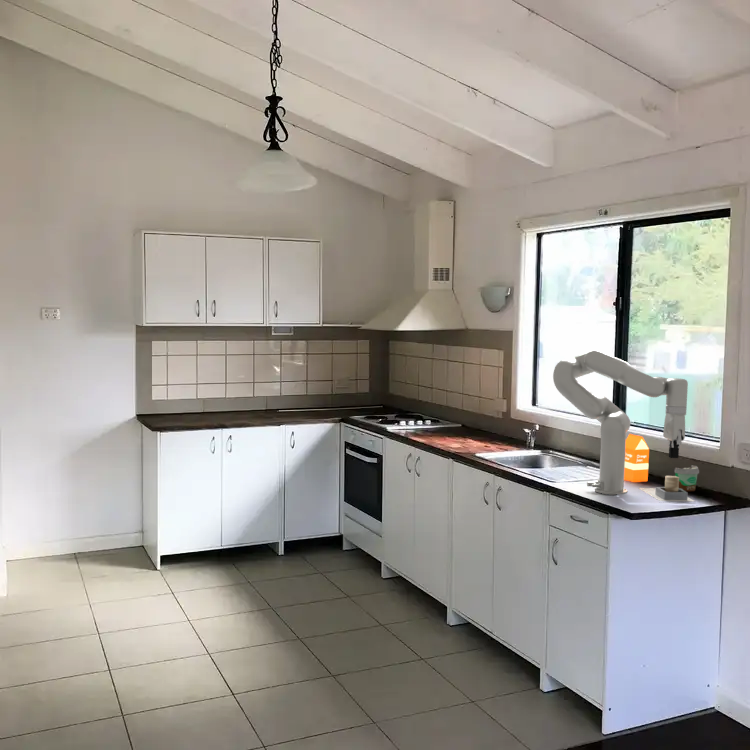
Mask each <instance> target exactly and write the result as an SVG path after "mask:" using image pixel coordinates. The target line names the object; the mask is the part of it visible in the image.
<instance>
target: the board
mask: <svg viewBox="0 0 750 750" xmlns="http://www.w3.org/2000/svg"><path fill="white" fill-rule="evenodd" d="M638 489H639V490H641V491H642V492H644V493H645V494H647V495H649V496H651V497H652V498H653V499H656V500H657V501H660V502H695V500H694V499H692V498H691V497H689V496H688V497H687V500H664V499H662V498H660V497H659V496H657V495H655V491H656V487H655V488H652V487H649V488H648V487H639V488H638Z"/></svg>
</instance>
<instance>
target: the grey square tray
mask: <svg viewBox="0 0 750 750" xmlns="http://www.w3.org/2000/svg"><path fill="white" fill-rule="evenodd" d="M655 488H656V491H655V495H657V496H659V497H660V498H662V499H664V500H687V497H689V496H688V494H689V493H688V492H689V491H684V490H682V489H680V488H679V489H678V492H666V491H665V486H656V487H655Z"/></svg>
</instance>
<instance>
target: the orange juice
mask: <svg viewBox="0 0 750 750" xmlns="http://www.w3.org/2000/svg"><path fill="white" fill-rule="evenodd" d="M649 459H650V448H649V446H648V444H647V442H646V440H645V439H644V437H643V436H641V435H637V434H632V433H628V436H627V438H626V449H625V470H624V481H628V482H631V483H641V482H648V477H649Z"/></svg>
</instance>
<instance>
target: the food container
mask: <svg viewBox="0 0 750 750" xmlns="http://www.w3.org/2000/svg"><path fill="white" fill-rule="evenodd" d="M673 473H674V476H677V477H679V488H680V489H682V490H684V491H686V492H695V491H696V488H697V480H698V475H699V474H700V469H699V467H698V466H697V465H692V464H691V466H690V467H681V468H679V467H675V468H674V472H673Z"/></svg>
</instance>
